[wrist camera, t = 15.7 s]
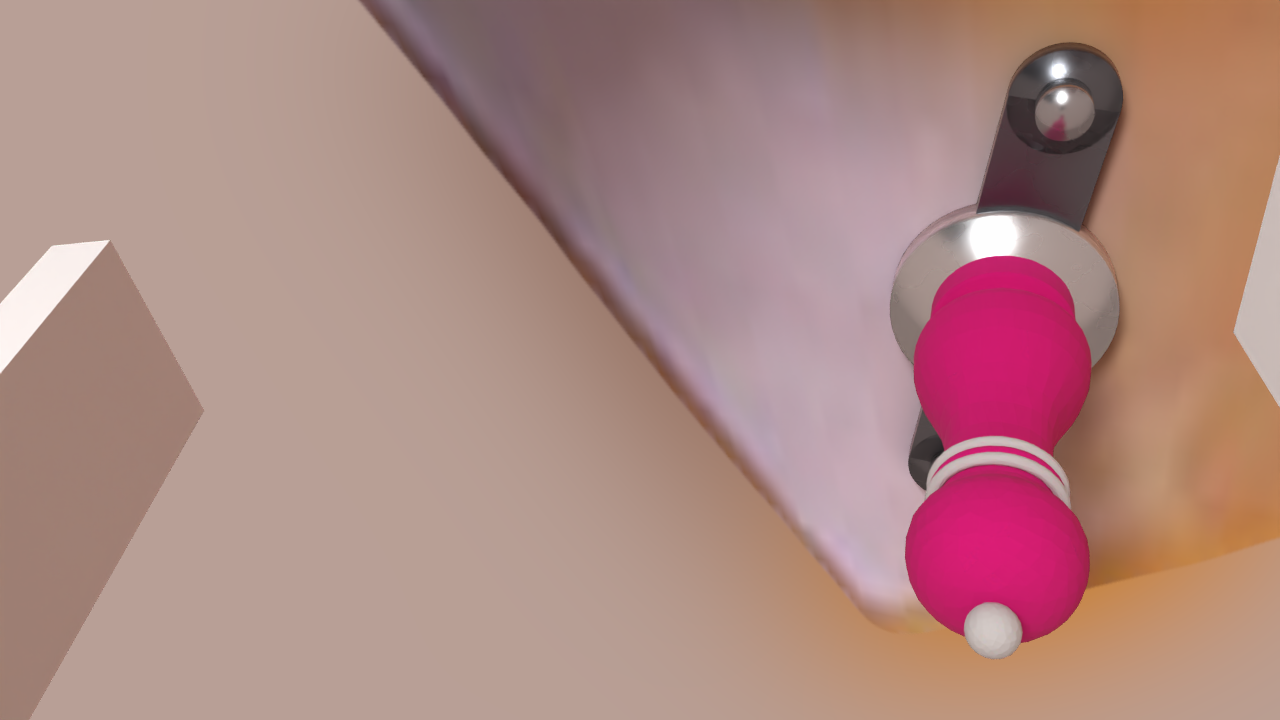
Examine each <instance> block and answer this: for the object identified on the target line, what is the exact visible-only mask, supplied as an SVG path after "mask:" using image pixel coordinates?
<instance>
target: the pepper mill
mask: <svg viewBox="0 0 1280 720" xmlns="http://www.w3.org/2000/svg"><path fill="white" fill-rule="evenodd" d="M1091 366H1092V362H1091V352H1090V348H1089V344H1088V341H1087V339H1086V337H1085V334H1084V332H1083V330H1082V329H1081V327H1080V326H1079V324H1078V323H1077V322H1076V319H1075V307H1074V302H1073V298H1072V296H1071V294H1070V291H1069V289H1068V287H1067V286H1066V284H1065V283H1064V282H1063V281H1062V279H1061V278H1060V277H1059V276H1057V275H1056V274H1055V273H1054V272H1053V271H1052V270H1050V269H1049V268H1047V267H1046V266H1044V265H1042V264H1040V263H1038V262H1035V261H1033V260H1030V259H1026V258H1022V257H1016V256H990V257H985V258H981V259H978V260H975V261H972V262H969V263H967V264H965V265H963V266H961V267H960V268H958V269H957V270H955V271H954V272H953V273H952V274H951V275H949V276H948V277H947V278H946V279H945V280H944V282H943V283H942V284H941V285H940V287H939V288H938V290H937V292H936V294H935V296H934V299H933V303H932V308H931V316H930V320H929V321H928V322H927V323H926V325H925V326H924V328H923V330H922V331H921V333H920V336H919V338H918V341H917V344H916V346H915V352H914V383H915V387H916V392H917V395H918V397H919V400H920V403H921V406H922V408H923V411H924V413H925V415H926V417H927V418H928V420H929V421H930V423H931V424H932V426H933V427H934V429H935V431H936V432H937V434H938V435H939V437H940V438H941V440H942V443H943V447H944V452H943V453H942V454H941V455H940V456H939V457H938V458H937V459H936V460H935V462H934V463H933V465H932V467H931V469H930V470H929V473H928V477H927V484H926V487H927V491H926V494H925V501H924V503H923V504H922V505H921V506H920V507H919V508H918V510H917V511H916V512H915V514H914V515H913V518H912V521H911V524H910V527H909V530H908V533H907V536H906V547H905V560H906V566H907V571H908V576H909V580H910V583H911V585H912V587H913V589H914V592H915V594H916V596H917V598H918V600H919V601H920V602H921V604H922V605H923V606H924V607H925V609H926V610H927V611H928V612H929V613H930V614H931V615H932V616H933V617H934V618H935V619H936V620H937V621H938V622H940V623H941V624H943V625H944V626H946V627H947V628H948V629H950V630H951V631H954V632H956V633H958V634H960V635H962V636H965V637H966V640H967V642H968V644H969V645H970V647H971V648H972V649H973V650H974V651H975V652H976V653H978V654H980V655H981V656H983V657H985V658H990V659H1002V658H1005V657H1007V656H1010V655H1011V654H1012V653H1013V652H1014V651H1016V649H1017V648H1018V646H1019V645H1020V643H1023V642H1029V641H1031V640H1034V639H1037V638H1039V637H1042V636H1044V635H1047V634H1049V633H1051V632H1052V631H1054V630H1055V629H1057V628H1058V627H1059V626H1061V625H1062V624H1063V623H1064V622H1065V621H1067V620H1068V618H1069V617H1070V616H1071V615H1072V614H1073V612H1074V611H1075V609H1076V608H1077V607H1078V605H1079V603H1080V601H1081V599H1082V596H1083V594H1084V591H1085V589H1086V586H1087V583H1088V577H1089V566H1090V561H1089V548H1088V542H1087V538H1086V535H1085V533H1084V531H1083V529H1082V526H1081V524H1080V522H1079V520H1078V518H1077V517H1076V516H1075V514H1074V513H1073V512H1072V511H1071V503H1070V486H1069V481H1068V478H1067V476H1066V474H1065V472H1064V470H1063V468H1062V467H1061V466H1060V464H1059V463H1058V462H1057V461H1056V460H1055V459H1054V458H1053V449H1054V447H1055V445H1056V444H1057V442H1058V441H1059V440H1060V438H1061V437H1062V436H1063V435H1064V434H1065V433H1066V431H1067V430H1068V429H1069V428H1070V427H1071V426H1072V424H1073V423H1074V421H1075V420H1076V418H1077V416H1078V415H1079V412H1080V410H1081V408H1082V406H1083V404H1084V401H1085V399H1086V396H1087V394H1088V391H1089V385H1090V376H1091Z"/></svg>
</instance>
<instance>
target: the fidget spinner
mask: <svg viewBox="0 0 1280 720" xmlns="http://www.w3.org/2000/svg"><path fill="white" fill-rule="evenodd" d="M1122 103H1123V91H1122V85H1121V81H1120V76H1119V74H1118V71H1117V69H1116V67H1115V65H1114V64H1113V62H1112V61H1111V60H1110V59H1109V58H1108V57H1107V56H1106V55H1105V54H1104V53H1103V52H1101V51H1100V50H1098V49H1096V48H1094V47H1092V46H1089V45H1086V44H1081V43H1060V44H1055V45H1051V46H1048V47H1045V48H1043V49H1041V50H1039V51H1037V52H1035V53H1034V54H1032V55H1031V56H1030V57H1028V58H1027V59H1026V60H1025V61H1024V62H1023V63H1022V64H1021V65H1020V66H1019V67H1018V69H1017V70H1016V72H1015V73H1014V75H1013V77H1012V79H1011V81H1010V84H1009V87H1008V91H1007V94H1006V98H1005V102H1004V105H1003V109H1002V113H1001V116H1000V120H999V124H998V127H997V131H996V135H995V138H994V142H993V146H992V149H991V153H990V157H989V160H988V164H987V168H986V171H985V175H984V179H983V182H982V186H981V190H980V193H979V197H978V201H977V204H974V205H970V206H967V207H964V208H961V209H958V210H955V211H953V212H951V213H949V214H947V215H945V216H943V217H941V218H940V219H938V220H937V221H935V222H934V223H932V224H930V225H929V226H928V227H927V228H926V229H924V230H923V231H922V232H921V233H920V234H919V235H918V236H917V237H916V238H915V239H914V240H913V241H912V243H911V244H910V245H909V247H908V248H907V250H906V251H905V253H904V254H903V256H902V258H901V260H900V262H899V264H898V267H897V270H896V274H895V277H894V283H893V288H892V294H891V300H890V318H891V324H892V329H893V332H894V335H895V338H896V340H897V342H898V344H899V346H900V348H901V350H902V351H903V353H904V354H905V355H906V357H907V358H908V360H909V361H910V362H911V363H912V364H913V365H914V352H915V346H916V344H917V341H918V338H919V336H920V333H921V331H922V330H923V328H924V326H925V325H926V323H927V322H928V321H929V320H930V316H931V308H932V303H933V299H934V296H935V294H936V292H937V290H938V288H939V287H940V285H941V284H942V283H943V282H944V280H945V279H946V278H947V277H948V276H949V275H951V274H952V273H953V272H954V271H955V270H957V269H958V268H960V267H961V266H963V265H965V264H967V263H969V262H972V261H975V260H978V259H981V258H985V257H990V256H1016V257H1022V258H1026V259H1030V260H1033V261H1035V262H1038V263H1040V264H1042V265H1044V266H1046V267H1047V268H1049V269H1050V270H1052V271H1053V272H1054V273H1055V274H1056V275H1057V276H1059V277H1060V278H1061V279H1062V281H1063V282H1064V283H1065V284H1066V286H1067V287H1068V289H1069V291H1070V294H1071V296H1072V298H1073V302H1074V307H1075V319H1076V322H1077V323H1078V324H1079V326H1080V327H1081V329H1082V330H1083V332H1084V334H1085V337H1086V339H1087V341H1088V344H1089V348H1090V352H1091V362H1092V366H1091V368H1092V367H1093V366H1094V365H1095V364H1096V363H1097V362H1098V361H1099V359H1100V358H1101V357H1102V356H1103V354H1104V353H1105V351H1106V350H1107V348H1108V347H1109V345H1110V343H1111V341H1112V339H1113V337H1114V334H1115V331H1116V328H1117V325H1118V319H1119V311H1120V309H1119V294H1118V287H1117V280H1116V276H1115V271H1114V267H1113V265H1112V262H1111V260H1110V257H1109V255H1108V254H1107V252H1106V250H1105V248H1104V247H1103V245H1102V244H1101V243H1100V242H1099V240H1098V239H1097V238H1096V237H1095V235H1094V234H1092V233H1091V232H1090V231H1089V230H1088V229H1087V228H1086V227H1085V226H1084V225H1082V222H1083V219H1084V217H1085V214H1086V211H1087V208H1088V205H1089V202H1090V199H1091V196H1092V193H1093V190H1094V187H1095V185H1096V182H1097V179H1098V176H1099V173H1100V170H1101V167H1102V164H1103V161H1104V158H1105V156H1106V153H1107V150H1108V147H1109V144H1110V141H1111V138H1112V135H1113V132H1114V129H1115V127H1116V124H1117V121H1118V118H1119V115H1120V112H1121V108H1122ZM943 452H944V447H943V443H942V440H941V438H940V437H939V435H938V434H937V432H936V431H935V429H934V427H933V426H932V424H931V423H930V421H929V420H928V418H927V417H926V415H925V413H924V411H923V408H922V406H921V410H920V413H919V417H918V421H917V424H916V428H915V432H914V435H913V439H912V443H911V447H910V453H909V461H908V466H909V471H910V474H911V476H912V478H913V479H914V480H915V482H916V483H917V484H918V485H919V486H920V487H922V488H923V489H924V490H926V491H927V487H926V484H927V477H928V473H929V470H930V469H931V467H932V465H933V463H934V462H935V460H936V459H937V458H938V457H939V456H940V455H941V454H942V453H943Z"/></svg>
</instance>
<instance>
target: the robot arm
mask: <svg viewBox="0 0 1280 720" xmlns="http://www.w3.org/2000/svg"><path fill="white" fill-rule="evenodd" d="M1233 333H1234V334H1235V336H1236V337H1237V339H1238V341H1239V342H1240V344H1241V345H1242V347H1243V349H1244V350H1245V352H1246V354H1247V355H1248V357H1249V358H1250V360H1251V362H1252V363H1253V365H1254V367H1255V368H1256V370H1257V371H1258V373H1259V375H1260V376H1261V378H1262V379H1263V381H1264V383H1265V384H1266V386H1267V388H1268V389H1269V391H1270V392H1271V394H1272V396H1273V397H1274V399H1275V401H1276V402H1277V404H1278V405H1279V407H1280V157H1279V161H1278V165H1277V168H1276V172H1275V176H1274V180H1273V184H1272V187H1271V191H1270V195H1269V199H1268V203H1267V207H1266V210H1265V214H1264V218H1263V222H1262V226H1261V229H1260V233H1259V237H1258V241H1257V245H1256V248H1255V252H1254V256H1253V260H1252V264H1251V267H1250V271H1249V275H1248V279H1247V283H1246V286H1245V290H1244V294H1243V298H1242V302H1241V306H1240V309H1239V313H1238V317H1237V321H1236V325H1235V328H1234V332H1233ZM203 412H204V409H203V407H202V406H201V404H200V402H199V400H198V398H197V397H196V395H195V393H194V391H193V389H192V387H191V386H190V384H189V382H188V380H187V378H186V376H185V375H184V373H183V371H182V369H181V367H180V366H179V364H178V362H177V360H176V358H175V357H174V355H173V353H172V351H171V349H170V347H169V346H168V344H167V342H166V340H165V339H164V337H163V335H162V333H161V331H160V329H159V327H158V326H157V324H156V322H155V320H154V318H153V317H152V315H151V313H150V311H149V309H148V308H147V306H146V304H145V302H144V300H143V298H142V297H141V295H140V293H139V291H138V289H137V288H136V286H135V284H134V282H133V280H132V279H131V277H130V275H129V273H128V271H127V269H126V268H125V266H124V264H123V262H122V261H121V259H120V257H119V255H118V253H117V251H116V250H115V248H114V246H113V244H112V242H111V240H106V241H96V242H85V243H76V244H66V245H56V246H51V248H50V249H49V250H48V251H47V252H46V253H45V254H44V255H43V257H42V258H41V259H40V260H39V261H38V262H37V263H36V264H35V265H34V267H33V268H32V269H31V270H30V271H29V272H28V273H27V275H26V276H25V277H24V278H23V279H22V280H21V281H20V282H19V283H18V284H17V286H16V287H15V288H14V289H13V290H12V291H11V292H10V293H9V295H8V296H7V297H6V298H5V299H4V300H3V301H2V302H1V303H0V720H29V719H30V717H31V716H32V714H33V712H34V710H35V709H36V707H37V705H38V703H39V701H40V700H41V698H42V696H43V694H44V693H45V691H46V689H47V687H48V686H49V684H50V682H51V680H52V678H53V676H54V675H55V673H56V671H57V670H58V668H59V666H60V664H61V663H62V661H63V659H64V657H65V655H66V654H67V652H68V650H69V648H70V647H71V645H72V643H73V641H74V639H75V638H76V636H77V634H78V633H79V631H80V629H81V627H82V625H83V624H84V622H85V620H86V618H87V617H88V615H89V613H90V611H91V610H92V607H93V606H94V604H95V602H96V601H97V599H98V597H99V595H100V594H101V592H102V590H103V588H104V587H105V585H106V583H107V581H108V580H109V578H110V576H111V574H112V572H113V571H114V569H115V567H116V565H117V564H118V562H119V560H120V558H121V556H122V555H123V553H124V551H125V549H126V548H127V546H128V544H129V542H130V541H131V539H132V537H133V535H134V533H135V532H136V530H137V528H138V527H139V525H140V523H141V521H142V519H143V518H144V516H145V514H146V512H147V510H148V509H149V507H150V505H151V503H152V502H153V500H154V498H155V496H156V495H157V493H158V491H159V489H160V488H161V486H162V484H163V482H164V481H165V479H166V477H167V475H168V473H169V472H170V470H171V468H172V466H173V465H174V463H175V461H176V459H177V458H178V456H179V454H180V452H181V450H182V449H183V447H184V445H185V443H186V441H187V440H188V438H189V436H190V435H191V433H192V431H193V429H194V428H195V426H196V424H197V422H198V420H199V419H200V417H201V415H202V413H203Z"/></svg>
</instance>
